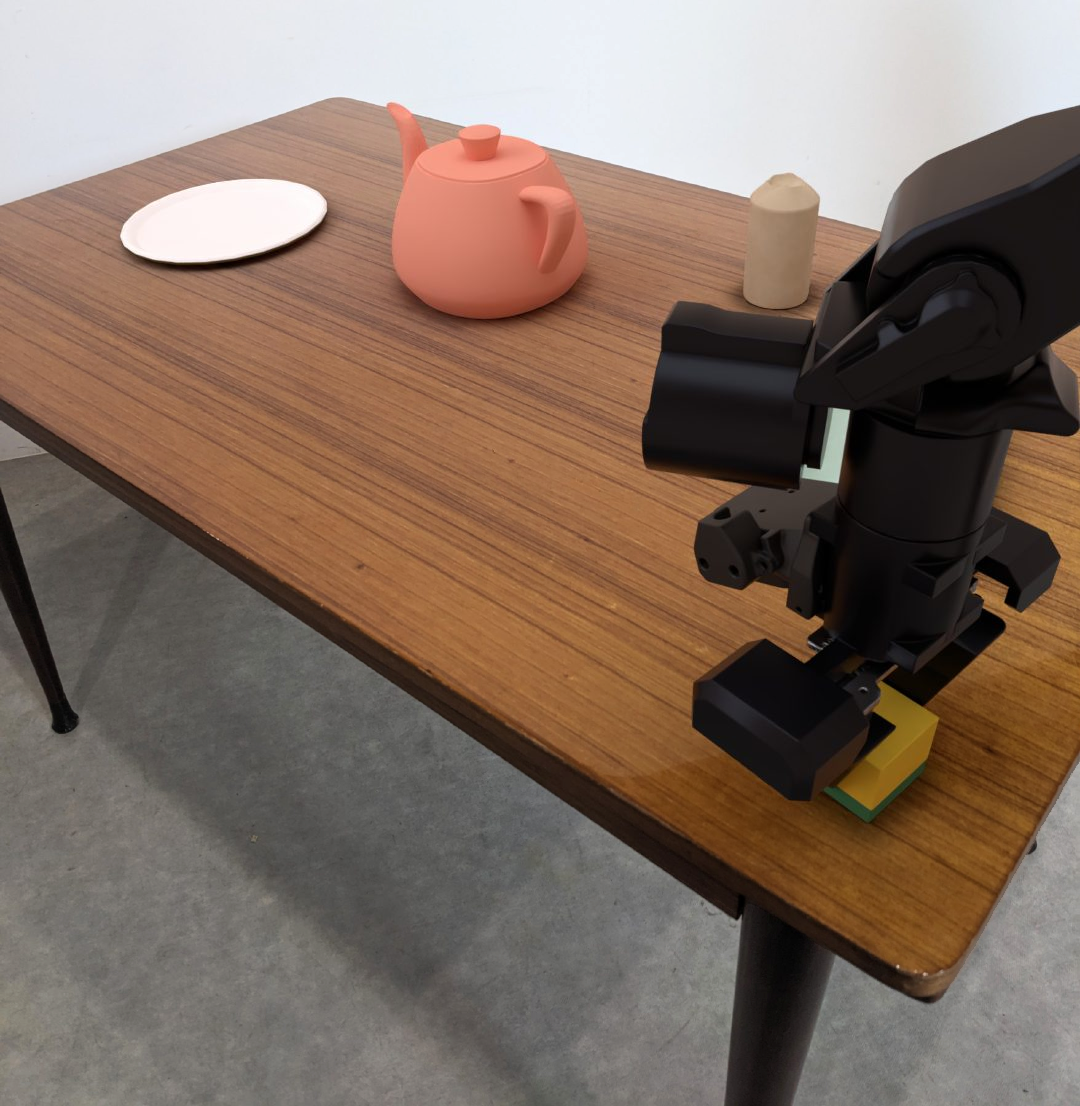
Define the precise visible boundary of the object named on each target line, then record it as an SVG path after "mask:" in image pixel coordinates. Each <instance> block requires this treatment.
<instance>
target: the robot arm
mask: <svg viewBox="0 0 1080 1106" xmlns="http://www.w3.org/2000/svg"><path fill="white" fill-rule="evenodd" d="M1078 327H1080V104H1078V105H1074V106H1070V107H1065V108H1062V109H1061V108H1060V109H1057V110H1054V111H1053V110H1052V111H1049V112H1045V113H1039V114H1036V115H1033V116H1029V117H1027V118H1024V119H1022V120H1020V121H1017V122H1014V123H1012V124H1009V125H1007V126H1004V127H1002V128H1000V129H997V130H994V131H993V132H990V133H988V134H986V135H983V136H980V137H978V138H975V139H973V140H971V141H968V142H966V143H963V144H961V145H959V146H956V147H954V148H951V149H949V150H946V151H943V152H942V153H939V154H937V155H936V156H933V157H931V158H930V159H928V160H926V161H924V162H923V163H922V164H921V165H920V166H919V167H917V168H916V169H915V170H913V171H912V172H911V173H910V174H909V175H907V176H906V177H905V178H904V179H903V181H901V183H900V184H899V185H898V187H897V188H896V189H895V191H894V192H893V194H892V197H891V199H890V201H889V203H888V206H887V209H886V212H885V216H884V219H883V223H882V226H881V231H880V234H879V237H878V238H877V239H876V240H875V241H874V242H873V243H872V244H871V245H869V247H867V248H866V249H865V250H864V252H862V253H861V254H860V255H859V256H858V257H857V258H856V259H855V260H854V261H853V262H852V263H851V264H849V266H847V268H846V269H844V270H843V271H842V272H841V273H840V274H839V275H838V276H837V277H836V278H835V279H834V280H833V281H832V282H831V283H830V284H829V285H827V287H826V288H825V289H824V291H823V294H822V297H821V301H820V304H819V307H818V310H817V313H816V317H815V320H814V319H807V318H799V317H790V316H789V317H788V316H782V315H781V316H780V315H772V314H771V315H770V314H763V313H754V312H753V313H752V312H743V311H735V310H734V311H733V310H729V309H724V308H721V307H718V306H715V305H713V304H710V303H704V302H697V301H689V300H688V301H687V300H677V301H676V302H675V303H673V305H672V307H671V308H670V310H669V312H668V314H667V315H666V318H665V320H664V322H663V323H662V325H661V337H660V352H659V355H658V360H657V363H656V367H655V371H654V375H653V380H652V385H651V392H650V398H649V405H648V409H647V410H646V413H645V415H644V417H643V418H642V424H641V454H642V460H643V464H644V466H645V469H647V470H650V471H657V472H662V473H668V474H674V475H680V476H688V477H695V478H701V479H707V480H714V481H720V482H727V483H732V484H738V485H739V484H740V485H746V486H748V488H746V489H744V490H742V491H741V492H739V493H738V494H737V495H735V496H733V497H731V498H729V500H727V501H725V502H723V503H722V504H721V505H719V506H718V507H716V508H715V509H714V510H713V511H712V512H710V513H709V514H707V515H705V516H704V517H702V518H701V519H699V520H698V521H697V525H696V531H695V537H694V541H693V542H694V543H693V554H694V558H695V561H696V565H697V570H698V572H699V574H700V575H701V577H703V578H704V580H705V581H707V582H708V583H711V584H714V585H718V586H722V587H725V588H730V589H734V590H737V591H743V590H745V589H747V588H748V587H749V586H751V585H752V584H754V583H759V584H763V585H767V586H771V587H774V588H778V589H787V593H786V602H785V607H786V608H787V609H788V610H790V611H792V612H793V613H795V614H796V615H798V616H800V617H801V618H803V619H805V620H807V621H810V620H811V619H813V618H814V617H817V618H819V619H820V620H822V625H821V626H819V627H818V628H817V629H816V630H815V631H813V632H812V633H811V634H809V635H808V636H807V638H806V647H807V648H809V649H810V650H812V651H814V652H815V654H814V655H812V657H810V658H809V659H808V660H807V661H805V662H804V661H802V660H800V659H799V658H797V657H796V656H794V655H792V654H791V653H790V652H789V651H786V650H785V649H783V648H782V647H780V646H779V645H777V644H775V643H774V642H773V641H772V640H769V639H768V638H766V637H763V638H761V639H755V640H752V641H747V642H745V643H744V644H743V645H742V646H740V647H739V648H738V649H736V650H735V651H733V652H732V653H731V654H730V655H728V656H727V657H726V658H724V659H723V660H722V661H720V662H719V663H717V664H716V665H715V666H714V667H712V668H711V669H709V670H708V671H707V672H705V673H704V674H702V675H701V676H700V677H698V678H697V679H696V680H695V681H693V682H692V692H691V693H692V694H691V713H690V714H691V727H692V729H694V730H695V731H697V732H698V733H699V734H701V735H702V736H703V737H705V738H706V739H707V740H708V741H710V742H711V743H713V744H714V745H715V746H717V747H718V748H719V749H720V750H722V751H723V752H724V753H726V754H727V755H728V756H730V757H731V758H733V759H734V760H735V761H736V762H737V763H739V764H740V765H741V766H743V767H744V768H746V769H747V770H748V771H750V772H751V773H752V774H753V775H755V776H756V777H757V778H759V779H760V780H761V781H763V782H764V783H765V784H767V785H768V786H769V787H771V788H772V789H773V790H774V791H776V792H777V793H778V794H780V795H781V796H783V798H785V799H786V800H788V801H790V802H811V801H812V800H813V799H815V798H816V797H817V796H818V795H819V794H820V793H821V792H823V789H825V788H826V787H827V786H828V787H830V788H835V787H836V786H837V785H838V784H839V783H840V782H841V781H842V780H843V779H844V778H845V777H846V776H847V775H848V774H849V773H851V772H852V771H853V770H854V769H855V768H856V767H857V766H858V765H859V764H860V763H861V762H862V761H863V760H864V759H865V758H866V757H867V756H868V755H869V754H870V753H871V752H872V751H873V750H874V749H876V748H877V747H878V746H879V745H880V744H881V743H882V742H883V741H884V740H885V739H886V738H887V737H888V736H889V735H890V734H891V733H892V732H893V731H894V730H895V729H896V726H895V725H894V724H892V723H891V722H889V721H888V720H886V719H885V718H883V717H882V716H880V715H879V714H877V713H875V712H874V711H873V710H874V708H875V707H876V706H877V705H878V704H879V702H880V698H881V694H882V693H881V689H880V688H879V686H878V685H877V684H878V683H879V682H881V681H882V682H884V683H885V684H887V685H889V686H890V687H892V688H893V689H895V690H896V691H898V692H900V693H901V694H903V695H904V696H906V697H908V698H909V699H911V700H912V701H914V702H915V703H917V704H919V705H920V706H922V707H923V708H925V706H926V705H928V704H929V703H930V701H932V700H933V699H934V698H935V697H936V696H937V695H938V694H940V692H941V691H943V690H944V689H945V688H946V687H947V686H948V685H950V683H951V682H952V681H954V680H955V678H957V677H958V676H959V675H960V674H961V673H962V672H963V671H964V670H965V669H966V668H967V667H969V665H971V664H972V663H973V662H974V661H975V660H976V659H977V658H978V657H980V655H982V654H983V652H985V650H987V649H988V648H989V647H990V646H991V645H992V644H993V643H994V642H995V641H997V640H998V639H999V638H1000V637H1001V636H1002V635H1003V634H1004V633H1005V631H1006V629H1007V623H1006V621H1005V620H1004V619H1003V618H1002V617H1000V616H999V615H997V614H995V613H993V612H992V611H991V610H989V609H986V608H984V603H985V599H984V598H983V597H982V596H981V595H980V594H979V593H974V592H976V590H977V586H978V584H979V578H977V577H975V575H976V574H979V573H981V574H982V575H984V576H986V577H988V578H990V579H992V580H993V581H995V582H998V583H999V584H1002V585H1003V586H1005V587H1006V588H1007V590H1006V594H1005V598H1004V600H1003V603H1004V604H1005V605H1006V606H1007V607H1008V608H1010V609H1012V610H1014V611H1016V612H1018V613H1020V614H1022V613H1023V612H1025V610H1027V608H1029V607H1030V606H1032V604H1034V602H1036V601H1037V600H1039V598H1040V597H1041V596H1042V595H1044V594H1045V593H1046V592H1047V591H1048V590H1049V589H1050V588H1051V587H1052V585H1053V582H1054V579H1055V577H1056V574H1057V570H1058V568H1059V564H1060V561H1061V559H1062V556H1061V554H1060V552H1059V550H1058V549H1057V547H1056V545H1055V543H1054V541H1053V539H1052V537H1051V535H1049V533H1048V531H1046V530H1044V529H1041V528H1039V527H1037V526H1036V525H1033V524H1031V523H1029V522H1027V521H1024V520H1022V519H1020V518H1018V517H1016V516H1015V515H1012V514H1010V513H1008V512H1006V511H1003V510H1002V509H999V508H998V507H995V506H993V503H994V500H995V497H996V493H997V491H998V490H997V489H998V486H999V482H1000V480H1001V476H1002V471H1003V468H1004V465H1005V461H1006V458H1007V454H1008V451H1009V446H1010V443H1011V439H1012V436H1013V432H1014V431H1019V432H1027V433H1032V434H1033V433H1034V434H1042V435H1050V436H1057V437H1065V438H1066V437H1072V436H1074V435H1076V434H1077V433H1078V432H1079V431H1080V396H1079V395H1080V394H1079V381H1078V379H1079V378H1078V375H1077V373H1076V372H1075V371H1074V370H1073V369H1072V368H1071V367H1069V366H1068V364H1066V363H1065V362H1064V361H1063V360H1062V359H1061V358H1059V357H1058V356H1057V355H1056V354H1055V352H1054V351H1053V348H1052V346H1051V345H1052V344H1053V343H1055V342H1057V341H1058V340H1060V339H1061V338H1063V337H1064V336H1066V335H1068V334H1069V333H1071V332H1072V331H1073V330H1076V329H1077V328H1078ZM833 408H836V409H844V410H850V413H849V419H848V426H847V432H846V438H845V444H844V451H843V457H842V463H841V469H840V476H839V482H838V483H834V482H827V481H820V480H813V479H807V478H802V475H803V469H804V465H807V468H813V469H819V470H821V467H822V464H823V460H824V456H825V451H826V446H827V441H828V436H829V431H830V425H831V420H832V414H833Z"/></svg>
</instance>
